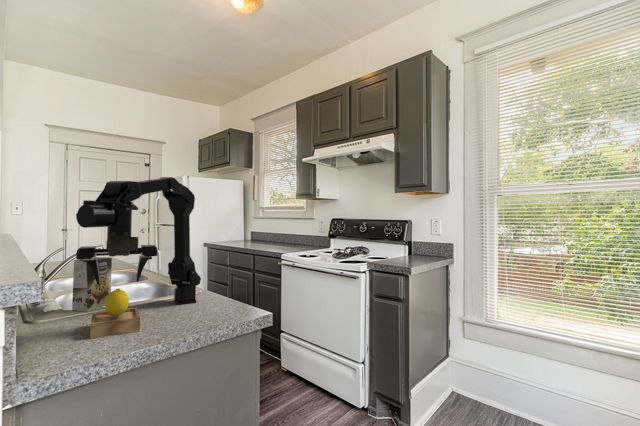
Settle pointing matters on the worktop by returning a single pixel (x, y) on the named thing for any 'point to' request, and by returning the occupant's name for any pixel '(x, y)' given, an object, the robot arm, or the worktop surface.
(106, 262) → the cookie box
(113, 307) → the lemon
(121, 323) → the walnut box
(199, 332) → the worktop surface
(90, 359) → the worktop surface
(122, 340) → the worktop surface
